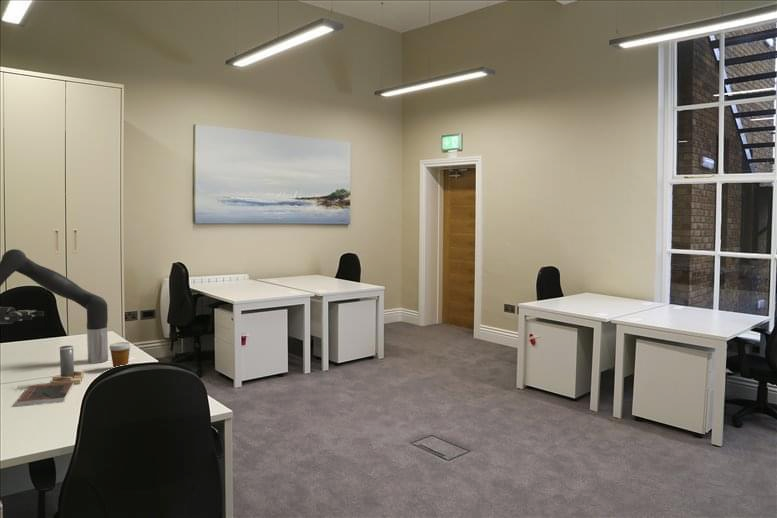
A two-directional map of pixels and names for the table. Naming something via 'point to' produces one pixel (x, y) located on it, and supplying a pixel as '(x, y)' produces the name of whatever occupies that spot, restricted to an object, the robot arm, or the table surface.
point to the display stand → (69, 378)
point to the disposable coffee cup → (120, 353)
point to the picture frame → (45, 394)
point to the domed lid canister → (67, 361)
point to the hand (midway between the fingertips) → (37, 315)
